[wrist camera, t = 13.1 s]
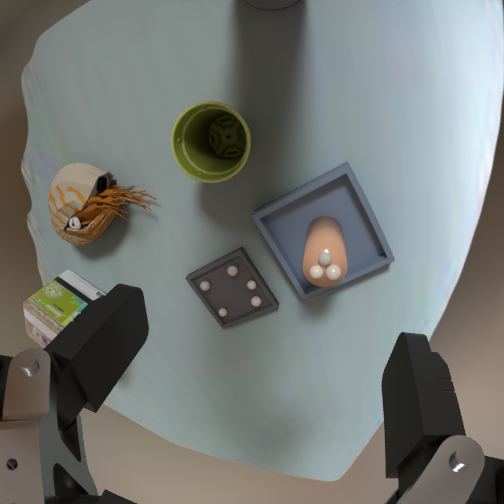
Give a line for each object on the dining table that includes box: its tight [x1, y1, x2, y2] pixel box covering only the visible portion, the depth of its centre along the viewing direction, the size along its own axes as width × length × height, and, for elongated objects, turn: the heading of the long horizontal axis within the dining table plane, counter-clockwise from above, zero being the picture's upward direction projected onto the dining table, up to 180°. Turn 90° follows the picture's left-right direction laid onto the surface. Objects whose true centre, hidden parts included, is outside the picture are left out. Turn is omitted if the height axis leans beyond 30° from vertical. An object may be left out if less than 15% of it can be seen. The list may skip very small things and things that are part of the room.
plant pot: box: [171, 101, 252, 183], centre depth 37 cm, size 9×9×9 cm
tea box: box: [23, 269, 105, 348], centre depth 55 cm, size 15×10×15 cm
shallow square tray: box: [251, 162, 395, 300], centre depth 43 cm, size 15×15×2 cm
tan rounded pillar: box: [303, 216, 347, 287], centre depth 39 cm, size 5×5×11 cm
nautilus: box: [49, 162, 156, 246], centre depth 47 cm, size 8×22×15 cm
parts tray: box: [186, 247, 279, 329], centre depth 51 cm, size 11×11×2 cm
